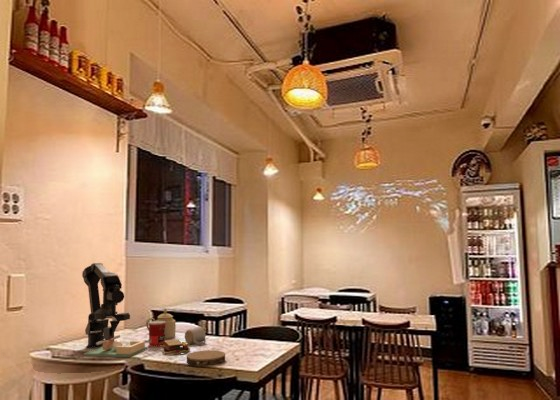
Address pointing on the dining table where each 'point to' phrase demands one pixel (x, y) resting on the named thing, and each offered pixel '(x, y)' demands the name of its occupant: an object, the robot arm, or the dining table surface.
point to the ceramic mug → (195, 336)
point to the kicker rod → (107, 339)
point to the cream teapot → (166, 324)
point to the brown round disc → (206, 358)
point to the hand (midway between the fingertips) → (108, 335)
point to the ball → (116, 344)
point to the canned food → (156, 333)
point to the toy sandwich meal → (175, 347)
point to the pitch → (119, 350)
